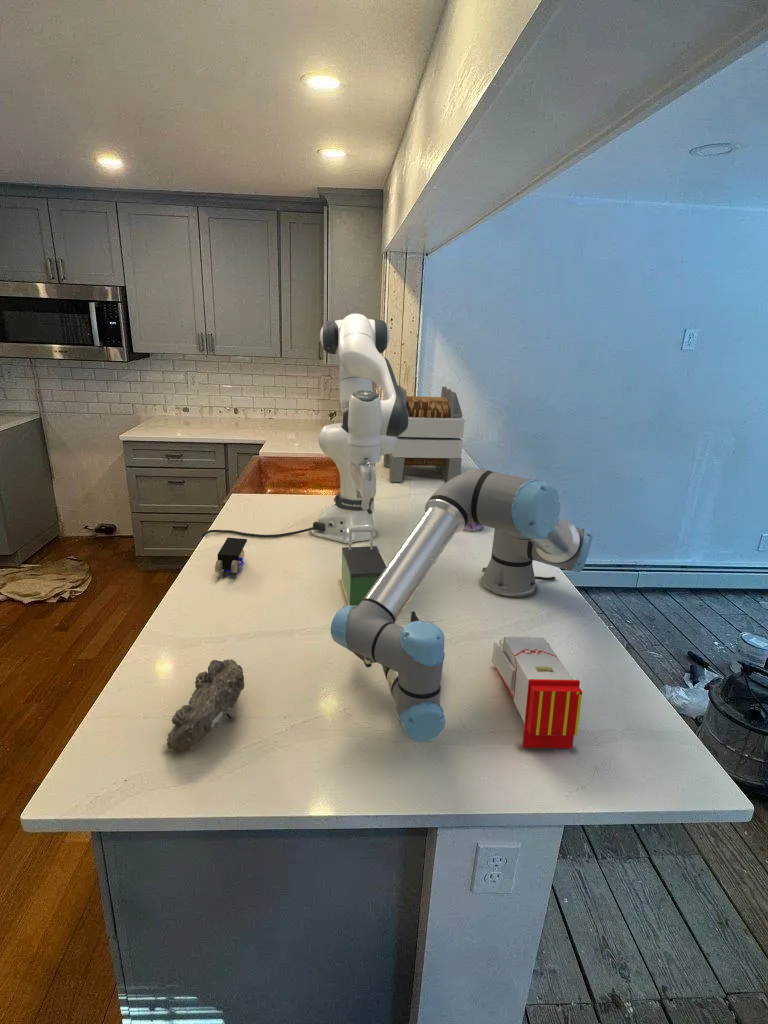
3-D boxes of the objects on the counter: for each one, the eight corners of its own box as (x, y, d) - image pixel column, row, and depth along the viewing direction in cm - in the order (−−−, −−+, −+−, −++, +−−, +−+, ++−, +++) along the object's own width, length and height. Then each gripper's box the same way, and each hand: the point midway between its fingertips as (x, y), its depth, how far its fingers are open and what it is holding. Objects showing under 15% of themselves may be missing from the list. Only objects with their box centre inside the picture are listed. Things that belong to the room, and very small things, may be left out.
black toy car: (238, 584, 162) (249, 557, 175) (236, 562, 158) (247, 536, 172) (215, 584, 161) (227, 556, 175) (212, 561, 158) (225, 535, 171)
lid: (341, 550, 161) (342, 523, 158) (376, 549, 163) (377, 522, 160) (350, 577, 145) (351, 548, 142) (388, 575, 147) (390, 547, 144)
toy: (540, 620, 128) (592, 687, 99) (535, 674, 131) (584, 755, 102) (487, 619, 128) (523, 686, 99) (483, 673, 131) (517, 754, 101)
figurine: (470, 533, 202) (474, 493, 197) (453, 524, 211) (457, 485, 206) (491, 530, 207) (495, 491, 202) (474, 520, 215) (478, 483, 210)
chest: (341, 580, 164) (342, 551, 161) (375, 579, 166) (376, 549, 163) (349, 610, 148) (350, 577, 145) (387, 607, 150) (388, 575, 147)
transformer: (382, 463, 289) (386, 382, 275) (445, 464, 293) (451, 384, 279) (390, 482, 257) (394, 392, 243) (460, 483, 261) (468, 394, 247)
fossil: (192, 660, 117) (244, 628, 112) (224, 691, 120) (276, 661, 115) (142, 746, 98) (202, 712, 93) (182, 779, 101) (242, 748, 96)
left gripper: (383, 464, 141) (380, 515, 146) (369, 444, 160) (367, 491, 165) (358, 464, 140) (356, 516, 145) (346, 445, 159) (346, 491, 164)
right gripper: (340, 695, 109) (328, 636, 128) (464, 684, 114) (434, 629, 133) (341, 662, 106) (329, 606, 126) (468, 652, 111) (437, 600, 131)
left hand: (362, 503), depth 155 cm, fingers open, 8 cm apart
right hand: (383, 618), depth 129 cm, fingers open, 13 cm apart
